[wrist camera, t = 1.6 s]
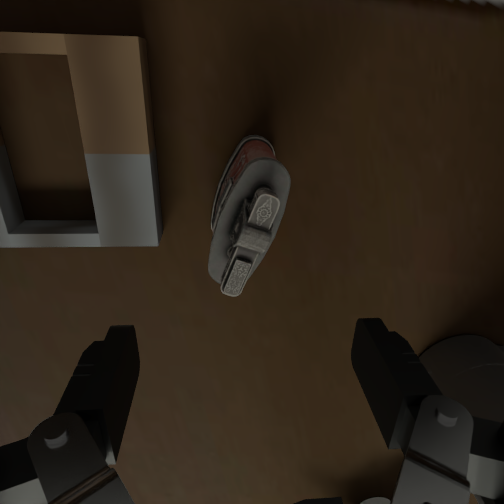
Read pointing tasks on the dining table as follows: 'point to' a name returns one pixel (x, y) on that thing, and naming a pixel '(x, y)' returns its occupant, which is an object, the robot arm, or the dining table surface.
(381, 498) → the teapot
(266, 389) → the dining table surface
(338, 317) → the dining table surface
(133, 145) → the tan flat square frame
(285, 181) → the lighter
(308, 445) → the dining table surface
